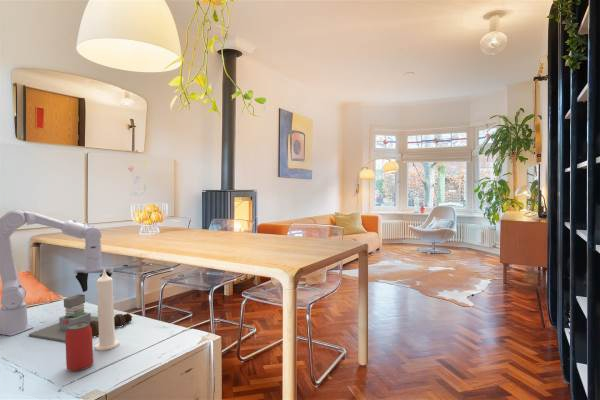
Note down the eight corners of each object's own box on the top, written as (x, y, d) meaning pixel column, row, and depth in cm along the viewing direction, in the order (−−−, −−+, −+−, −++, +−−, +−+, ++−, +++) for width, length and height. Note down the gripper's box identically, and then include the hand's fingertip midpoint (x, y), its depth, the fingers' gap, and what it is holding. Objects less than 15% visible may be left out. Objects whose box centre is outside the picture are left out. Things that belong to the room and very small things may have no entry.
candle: (92, 352, 114) (88, 272, 113) (98, 343, 121) (95, 268, 120) (117, 349, 116) (113, 270, 115) (121, 340, 123) (118, 266, 122)
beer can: (97, 360, 108) (96, 320, 108) (85, 371, 102) (83, 329, 101) (75, 361, 108) (73, 321, 108) (61, 372, 101) (59, 330, 101)
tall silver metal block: (63, 320, 132) (62, 298, 132) (78, 315, 137) (77, 294, 137) (71, 321, 130) (71, 299, 130) (86, 316, 136) (86, 295, 136)
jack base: (28, 336, 128) (27, 320, 128) (80, 316, 147) (79, 303, 147) (70, 343, 121) (69, 327, 121) (118, 321, 140) (118, 308, 140)
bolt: (131, 327, 140) (93, 340, 126) (123, 319, 142) (85, 331, 128) (136, 315, 138) (98, 327, 125) (128, 306, 140) (90, 318, 127)
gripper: (68, 259, 142) (70, 294, 142) (106, 258, 142) (108, 293, 143) (79, 256, 149) (80, 289, 149) (115, 255, 149) (116, 288, 150)
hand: (94, 290), depth 146 cm, fingers open, 7 cm apart
